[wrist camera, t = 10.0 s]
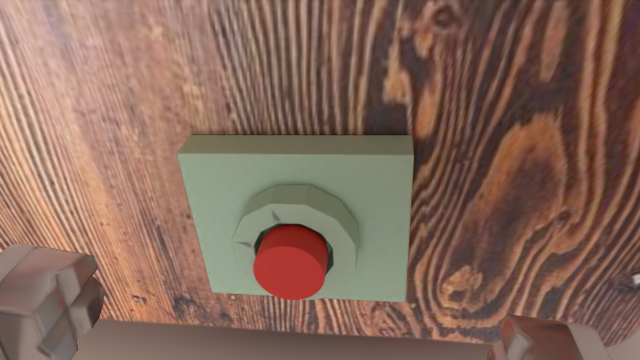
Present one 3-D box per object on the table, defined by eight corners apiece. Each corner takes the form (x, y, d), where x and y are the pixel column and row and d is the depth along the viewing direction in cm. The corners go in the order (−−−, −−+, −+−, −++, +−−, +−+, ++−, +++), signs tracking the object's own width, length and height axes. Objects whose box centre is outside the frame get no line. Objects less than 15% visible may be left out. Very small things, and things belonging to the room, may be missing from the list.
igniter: (411, 134, 23) (416, 175, 20) (404, 276, 29) (406, 327, 25) (191, 134, 25) (161, 171, 22) (222, 268, 30) (202, 315, 27)
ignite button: (326, 224, 23) (322, 247, 21) (330, 277, 24) (326, 302, 23) (256, 222, 23) (248, 245, 22) (265, 274, 25) (257, 298, 23)
